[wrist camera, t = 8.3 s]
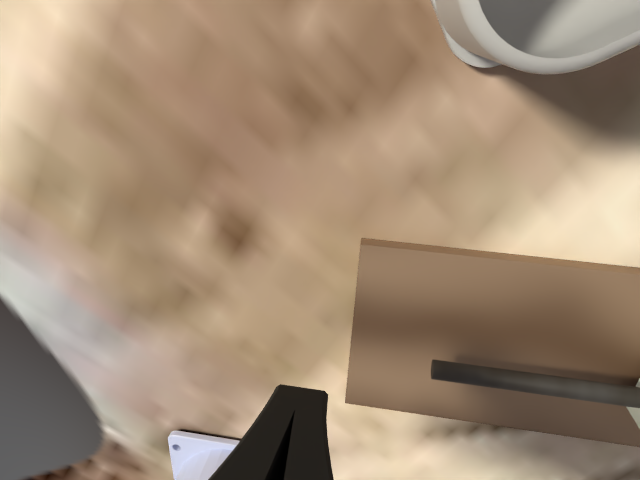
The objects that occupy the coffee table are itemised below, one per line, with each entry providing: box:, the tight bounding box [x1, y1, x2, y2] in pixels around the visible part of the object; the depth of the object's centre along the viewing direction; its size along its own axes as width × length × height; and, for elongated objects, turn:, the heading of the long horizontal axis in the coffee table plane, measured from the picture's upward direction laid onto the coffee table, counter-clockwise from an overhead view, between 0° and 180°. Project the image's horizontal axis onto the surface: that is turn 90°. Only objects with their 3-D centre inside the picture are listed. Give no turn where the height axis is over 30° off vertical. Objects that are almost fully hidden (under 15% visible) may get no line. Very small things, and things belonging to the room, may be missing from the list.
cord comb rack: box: [345, 238, 640, 447], centre depth 17 cm, size 9×20×7 cm, turn 87°
